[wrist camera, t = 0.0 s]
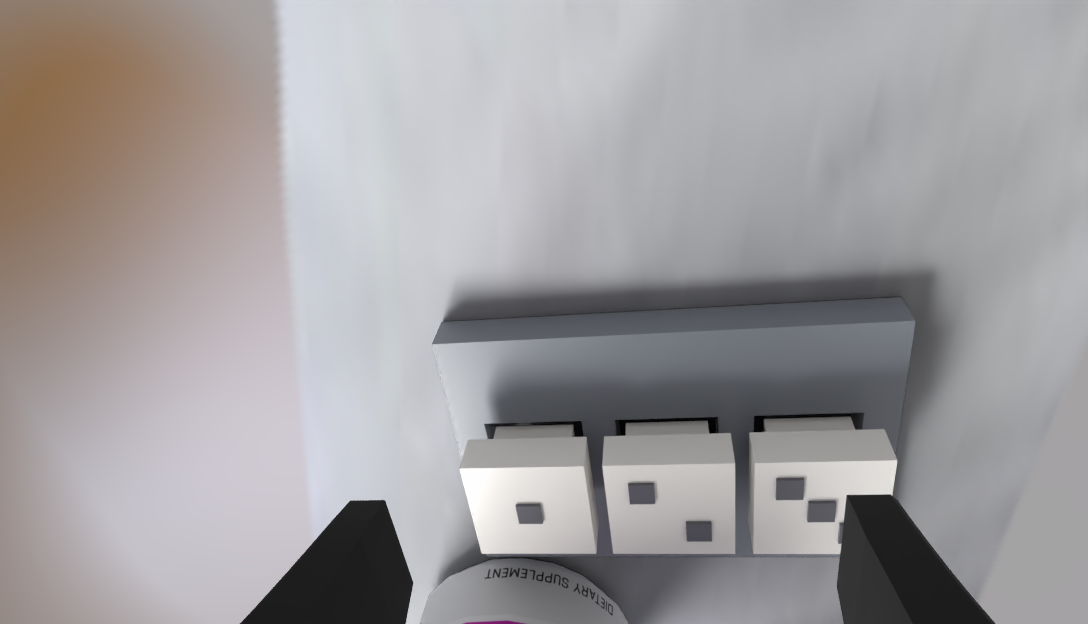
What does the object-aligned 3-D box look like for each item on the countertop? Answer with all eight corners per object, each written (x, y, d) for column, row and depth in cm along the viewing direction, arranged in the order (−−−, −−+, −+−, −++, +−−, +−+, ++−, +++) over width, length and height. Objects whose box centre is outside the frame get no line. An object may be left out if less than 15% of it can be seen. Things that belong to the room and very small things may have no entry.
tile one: (600, 494, 24) (596, 556, 22) (495, 495, 24) (480, 556, 22) (589, 409, 22) (583, 468, 20) (475, 413, 23) (458, 471, 20)
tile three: (861, 490, 22) (884, 557, 20) (743, 492, 23) (753, 557, 21) (872, 400, 21) (898, 463, 19) (744, 404, 21) (755, 465, 19)
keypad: (871, 528, 25) (880, 557, 24) (492, 530, 27) (486, 556, 26) (902, 296, 20) (916, 320, 19) (441, 321, 22) (431, 344, 21)
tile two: (727, 492, 23) (735, 557, 21) (615, 494, 24) (613, 556, 22) (726, 405, 21) (735, 466, 19) (606, 409, 22) (601, 469, 20)
